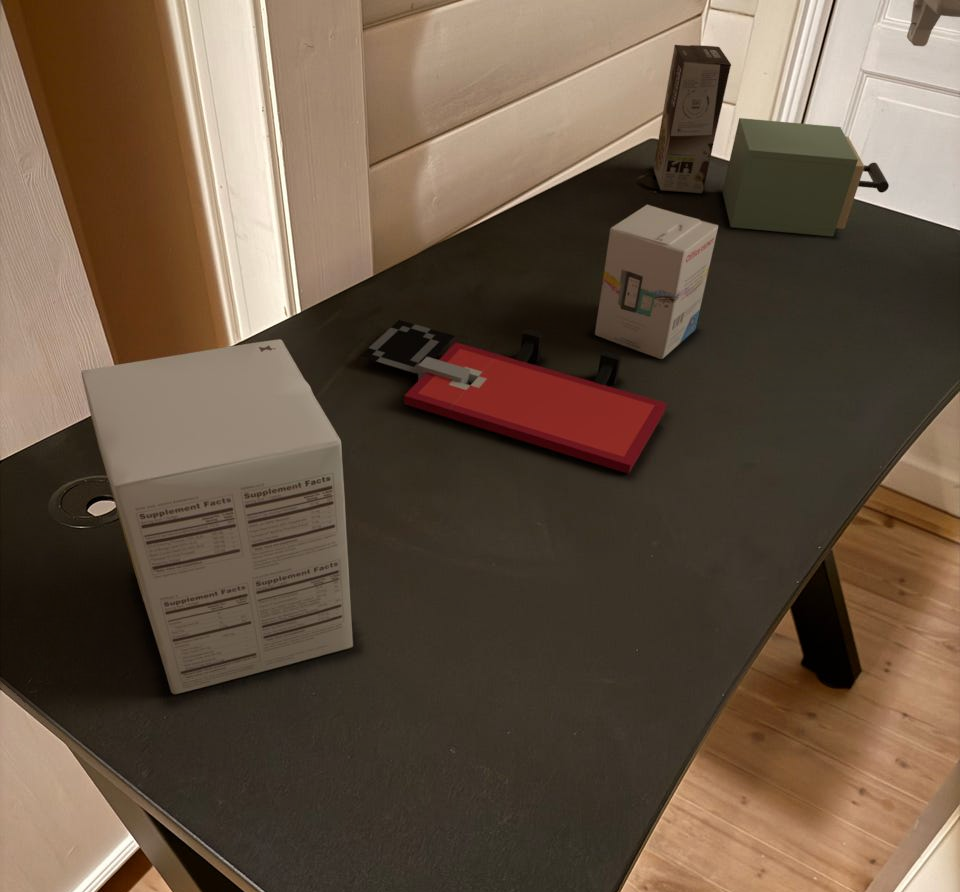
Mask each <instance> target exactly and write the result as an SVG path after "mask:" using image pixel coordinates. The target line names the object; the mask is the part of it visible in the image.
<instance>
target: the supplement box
mask: <svg viewBox="0 0 960 892" xmlns="http://www.w3.org/2000/svg"><path fill="white" fill-rule="evenodd" d="M81 379H82V380H81V381H82V384H83V388H84V393H85V397H86V401H87V405H88V409H89V413H90V418H91V421H92V425H93V429H94V433H95V436H96V442H97V445H98V448H99V452H100V456H101V460H102V462H103V466H104V469H105V473H106V477H107V480H108V483H109V487H110V491H111V494H112V498H113V501H114V504H115V509H116V512H117V514H118V515H117V516H118V519H119V523H120V525H121V529H122V533H123V535H124V539H125V542H126V546H127V550H128V552H129V556H130V560H131V563H132V566H133V570H134V574H135V577H136V580H137V584H138V587H139V591H140V594H141V598H142V601H143V604H144V606H145V610H146V613H147V616H148V620H149V623H150V626H151V630H152V632H153V636H154V638H155V642H156V645H157V648H158V652H159V655H160V658H161V663H162V665H163V668H164V672H165V675H166V679H167V682H168V686H169V690H170V692H171V693H172V695H179V694H182V693H186V692H191V691H194V690H198V689H202V688H205V687H210V686H214V685H217V684H221V683H225V682H229V681H231V680H232V681H233V680H235V679H236V680H237V679H240V678H243V677H247V676H252V675H254V674H258V673H262V672H266V671H270V670H273V669H277V668H281V667H285V666H289V665H293V664H296V663H299V662H303V661H306V660H307V661H308V660H311V659H315V658H318V657H322V656H325V655H330V654H333V653H338V652H340V651H344V650H348V649H351V648H353V647H354V641H353V640H354V639H353V625H352V623H353V622H352V608H351V605H352V604H351V589H350V573H349V554H348V553H349V552H348V536H347V516H346V515H347V514H346V499H345V497H346V496H345V483H344V481H345V480H344V468H343V467H344V466H343V452H342V441H341V438H340V437H339V435H338V434H337V432H336V429H335V428H334V427H333V425H332V423H331V422H330V420H329V418H328V417H327V415H326V413H325V412H324V410H323V408H322V405H320V403H319V401H318V400H317V399H316V397H315V395H314V393H313V390H312V388H311V386H310V384H309V383H308V382H307V380H306V379H305V378H304V376H303V374H302V373H301V371H300V369H299V367H298V365H297V364H296V362H295V360H294V359H293V357H292V355H291V354H290V352H289V350H288V348H287V346H286V345H285V343H284V341H283V340H282V339H280V338H279V339H271V340H264V341H257V342H250V343H244V344H239V345H232V346H231V345H230V346H226V347H219V348H212V349H207V350H206V349H205V350H200V351H194V352H189V353H188V352H187V353H182V354H176V355H170V356H169V355H168V356H163V357H158V358H157V357H156V358H151V359H145V360H139V361H133V362H127V363H126V362H125V363H120V364H114V365H107V366H102V367H95V368H91V369H82V370H81Z"/></svg>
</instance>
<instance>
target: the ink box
mask: <svg viewBox="0 0 960 892" xmlns="http://www.w3.org/2000/svg"><path fill="white" fill-rule="evenodd" d="M718 230H719V224H716V223H712V222H708V221H705V220H701V219H699V218H695V217H692V216H687V215H684V214H681V213H677V212H674V211H671V210H667V209H663V208H660V207H657V206H654V205H650V204H645V205H644V206H643V207H641V208H640V209H638V210H636V211H635V212H633V213H631V214H630V215H629V216H627V217H626V218H624V219H623V220H621V221H619V222H618V223H616V224H614V225H613V226H611V227H610V229H609V234H608V235H609V236H608V243H607V249H606V256H605V263H604V271H603V276H602V277H603V278H602V282H601V283H602V284H601V289H600V290H601V291H600V297H599V303H598V305H599V306H598V310H597V316H596V323H595V331H594V335H595V336H597V337H599V338H602V339H605V340H607V341H609V342H613V343H615V344H618V345H620V346H623V347H625V348H629V349H632V350H634V351H637V352H640V353H642V354H645V355H648V356H651V357H653V358H655V359H659V360H663V359H664V358H666V356H668V355H669V354H670V353H671V352H672V351H673V350H674V349H675V348H677V347H678V346H679V345H680V344H681V343H682V342H683V341H685V340H686V339H687V338H688V337H689V336H690V335H691V334H693V333H694V332H695V331H696V330H697V325H698V320H699V316H700V312H701V311H700V310H701V306H702V302H703V299H704V294H705V289H706V284H707V279H708V275H709V270H710V265H711V261H712V257H713V252H714V248H715V244H716V243H715V242H716V238H717V234H718Z"/></svg>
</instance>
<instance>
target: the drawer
mask: <svg viewBox="0 0 960 892" xmlns="http://www.w3.org/2000/svg"><path fill="white" fill-rule="evenodd" d="M845 136H846V135H845ZM846 138H847V140H848V142H849V144H850V146H851V148H852V150H853V151H854V153H855V155H856V157H857V159H858V161H857V164H856V168H855V171H854V174H853V177H852V180H851V183H850V186H849V189H848V193H847V196H846V199H845V202H844V205H843V208H842V211H841V214H840V218H839V221H838V224H837V227H836V229H839V230H841V229H842V230H844V229H845V228H846V225H847V222H848V218H849V215H850V212H851V209H852V207H853V203H854V200H855V197H856V195H857V194H856V193H857V191H858V188H868V189H869V188H870V189H876V190H877V192H879V193H885V192H887V191H888V190H889V186H890V184H889V182H888V180H887V179H886V177H885V175H884V173H883V172H882V170H881V168H880V167H879V165H878V163H877V162H871V163H869V164H868V165H864V163H863V161H862V158H860V155H859V153H858V151H857V150H856V148H855V146H854V144H853V142H852V140H851V138H850V137H849V136H846ZM864 172H867V173H868V176H869V177H870V179H871V181H869V180H861V178H862V175H863V173H864Z"/></svg>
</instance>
